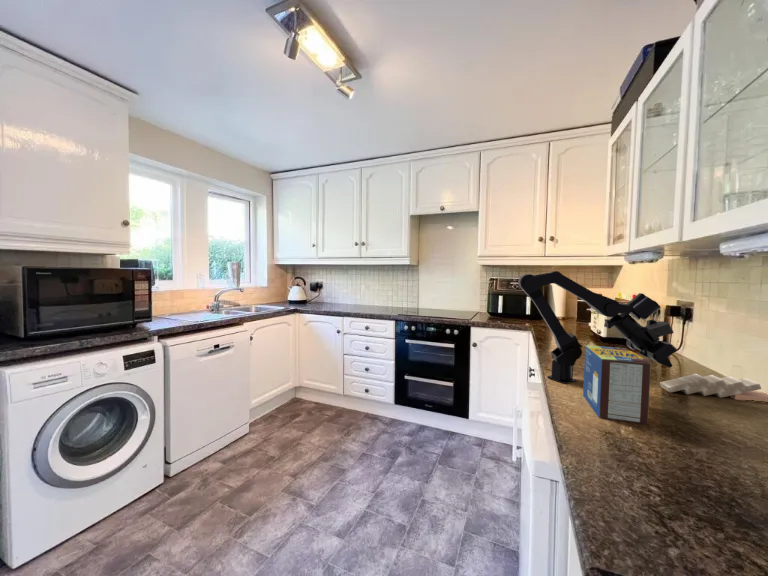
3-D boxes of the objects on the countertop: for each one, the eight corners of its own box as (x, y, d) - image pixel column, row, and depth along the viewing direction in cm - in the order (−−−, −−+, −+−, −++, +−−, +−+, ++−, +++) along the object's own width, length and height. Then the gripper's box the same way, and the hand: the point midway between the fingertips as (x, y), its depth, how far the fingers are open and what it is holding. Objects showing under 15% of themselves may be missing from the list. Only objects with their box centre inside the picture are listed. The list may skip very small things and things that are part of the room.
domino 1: (668, 387, 97) (706, 378, 94) (659, 382, 102) (695, 373, 99) (670, 392, 97) (708, 383, 94) (661, 387, 102) (697, 378, 99)
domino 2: (684, 389, 96) (723, 380, 93) (674, 383, 101) (711, 374, 98) (686, 394, 96) (726, 385, 93) (677, 388, 101) (714, 379, 98)
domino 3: (701, 390, 95) (742, 381, 92) (691, 385, 99) (729, 375, 96) (703, 395, 95) (744, 386, 92) (693, 389, 99) (731, 380, 96)
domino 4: (717, 392, 94) (759, 383, 91) (706, 386, 98) (745, 377, 95) (719, 397, 93) (761, 388, 91) (708, 391, 98) (747, 382, 95)
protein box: (623, 400, 91) (626, 347, 90) (648, 425, 76) (652, 362, 76) (582, 395, 94) (584, 344, 93) (598, 418, 80) (601, 358, 79)
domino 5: (735, 394, 92) (780, 398, 89) (722, 388, 97) (765, 392, 94) (735, 399, 92) (780, 404, 90) (722, 393, 97) (765, 397, 94)
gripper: (670, 316, 90) (716, 358, 88) (638, 309, 108) (676, 343, 106) (636, 341, 93) (679, 382, 91) (611, 330, 111) (646, 364, 108)
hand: (670, 366), depth 99 cm, fingers closed
